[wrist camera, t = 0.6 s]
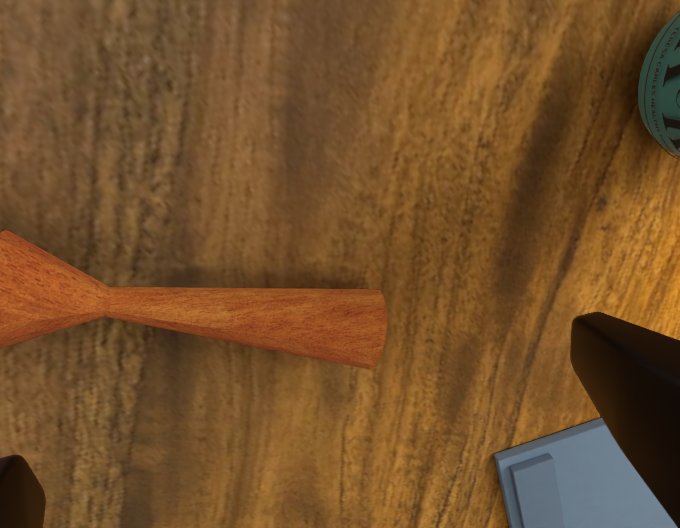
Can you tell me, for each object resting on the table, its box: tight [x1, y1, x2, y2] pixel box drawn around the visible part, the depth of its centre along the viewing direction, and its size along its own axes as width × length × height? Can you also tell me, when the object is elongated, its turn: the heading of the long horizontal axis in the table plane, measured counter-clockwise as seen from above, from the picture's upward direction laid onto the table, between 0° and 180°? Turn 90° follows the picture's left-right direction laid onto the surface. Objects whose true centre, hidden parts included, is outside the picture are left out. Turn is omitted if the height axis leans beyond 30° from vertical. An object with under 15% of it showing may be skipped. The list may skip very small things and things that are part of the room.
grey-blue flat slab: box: [494, 418, 678, 528], centre depth 31 cm, size 12×10×1 cm
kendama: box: [0, 230, 387, 369], centre depth 21 cm, size 6×6×20 cm
